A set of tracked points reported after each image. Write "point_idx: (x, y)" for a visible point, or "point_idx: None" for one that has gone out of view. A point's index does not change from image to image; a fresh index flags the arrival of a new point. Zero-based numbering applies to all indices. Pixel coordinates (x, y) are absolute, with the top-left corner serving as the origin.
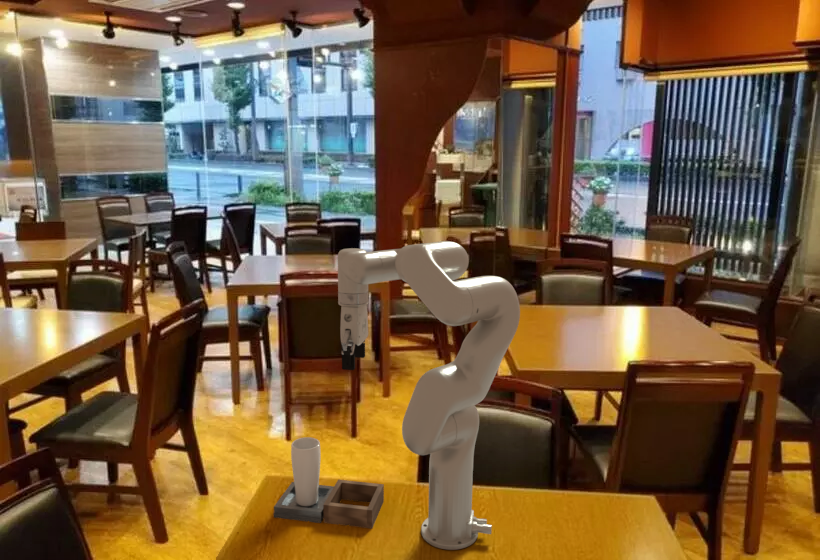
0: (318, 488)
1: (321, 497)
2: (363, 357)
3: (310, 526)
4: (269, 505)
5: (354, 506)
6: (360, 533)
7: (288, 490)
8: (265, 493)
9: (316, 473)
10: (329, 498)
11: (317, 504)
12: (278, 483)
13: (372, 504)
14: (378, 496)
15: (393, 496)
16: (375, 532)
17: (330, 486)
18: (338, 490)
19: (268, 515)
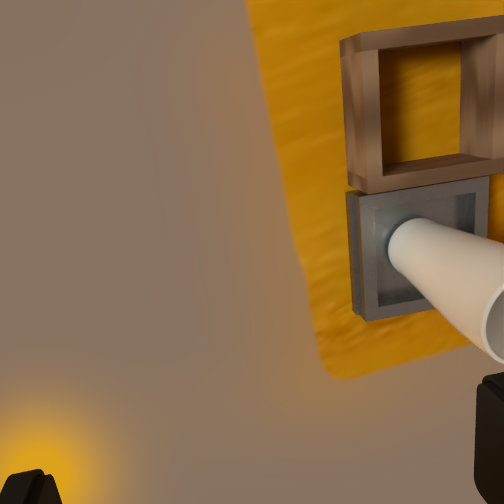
0: (423, 227)
1: (387, 219)
2: (50, 475)
3: (491, 188)
4: (427, 324)
5: (500, 78)
6: None
7: (407, 307)
8: (381, 361)
9: (484, 237)
10: (473, 170)
11: (420, 213)
12: (330, 360)
13: (483, 24)
14: (432, 24)
15: (303, 18)
16: (490, 7)
17: (362, 213)
18: (410, 170)
19: None
